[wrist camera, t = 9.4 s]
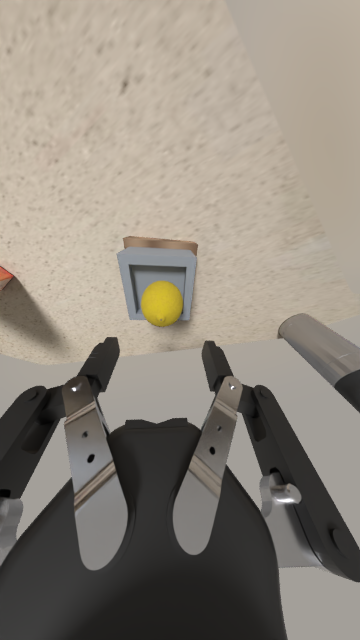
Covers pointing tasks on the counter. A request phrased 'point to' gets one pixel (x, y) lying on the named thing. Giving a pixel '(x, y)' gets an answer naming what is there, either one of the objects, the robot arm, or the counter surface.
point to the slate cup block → (156, 275)
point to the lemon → (162, 303)
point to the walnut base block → (159, 243)
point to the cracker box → (4, 278)
